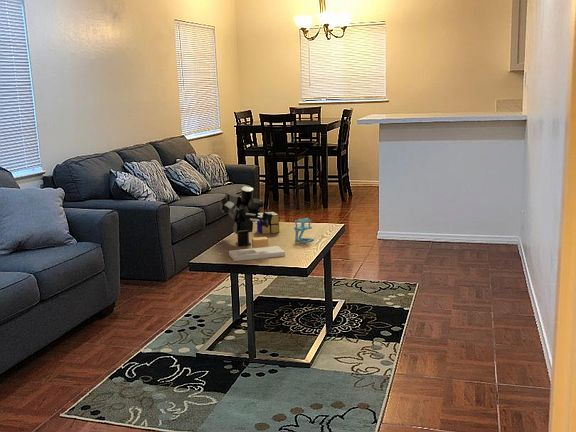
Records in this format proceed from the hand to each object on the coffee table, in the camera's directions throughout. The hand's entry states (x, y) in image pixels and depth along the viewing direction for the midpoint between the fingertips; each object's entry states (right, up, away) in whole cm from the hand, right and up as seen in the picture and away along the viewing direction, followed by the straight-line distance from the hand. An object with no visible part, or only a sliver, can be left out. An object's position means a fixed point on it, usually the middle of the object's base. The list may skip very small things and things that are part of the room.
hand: (258, 225), depth 294 cm
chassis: (-1, -14, +3) cm, 14 cm away
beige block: (0, -11, +17) cm, 20 cm away
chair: (+21, -8, +29) cm, 37 cm away
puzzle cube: (+3, -4, +52) cm, 52 cm away
